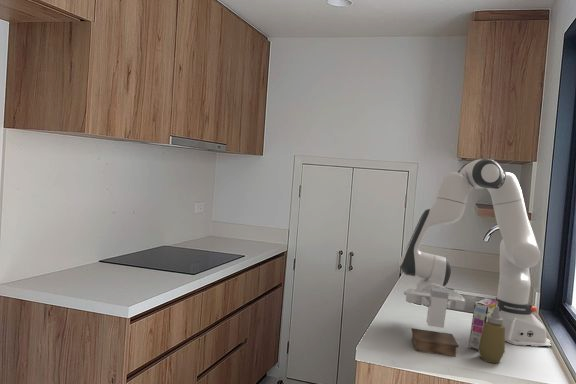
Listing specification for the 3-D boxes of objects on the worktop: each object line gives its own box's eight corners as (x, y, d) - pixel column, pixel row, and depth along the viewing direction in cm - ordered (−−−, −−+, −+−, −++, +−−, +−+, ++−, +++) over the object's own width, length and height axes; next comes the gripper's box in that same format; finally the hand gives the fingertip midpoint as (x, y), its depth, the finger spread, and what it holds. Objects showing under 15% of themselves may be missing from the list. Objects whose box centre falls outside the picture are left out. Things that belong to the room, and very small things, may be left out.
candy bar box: (482, 352, 181) (488, 305, 180) (467, 347, 184) (473, 301, 183) (492, 345, 189) (498, 300, 188) (479, 341, 192) (484, 297, 191)
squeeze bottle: (506, 361, 174) (513, 308, 173) (497, 366, 168) (505, 311, 167) (482, 353, 179) (489, 301, 178) (473, 358, 173) (480, 305, 172)
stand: (450, 344, 185) (451, 333, 185) (457, 357, 173) (458, 345, 173) (410, 339, 186) (411, 328, 186) (414, 351, 175) (415, 339, 174)
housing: (441, 323, 182) (446, 289, 181) (443, 328, 176) (448, 293, 176) (426, 321, 182) (430, 287, 181) (428, 325, 177) (432, 290, 176)
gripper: (404, 282, 193) (408, 291, 179) (461, 290, 190) (469, 300, 177) (402, 299, 193) (405, 309, 179) (459, 307, 191) (467, 318, 177)
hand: (438, 305), depth 178 cm, fingers closed on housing, 5 cm apart
